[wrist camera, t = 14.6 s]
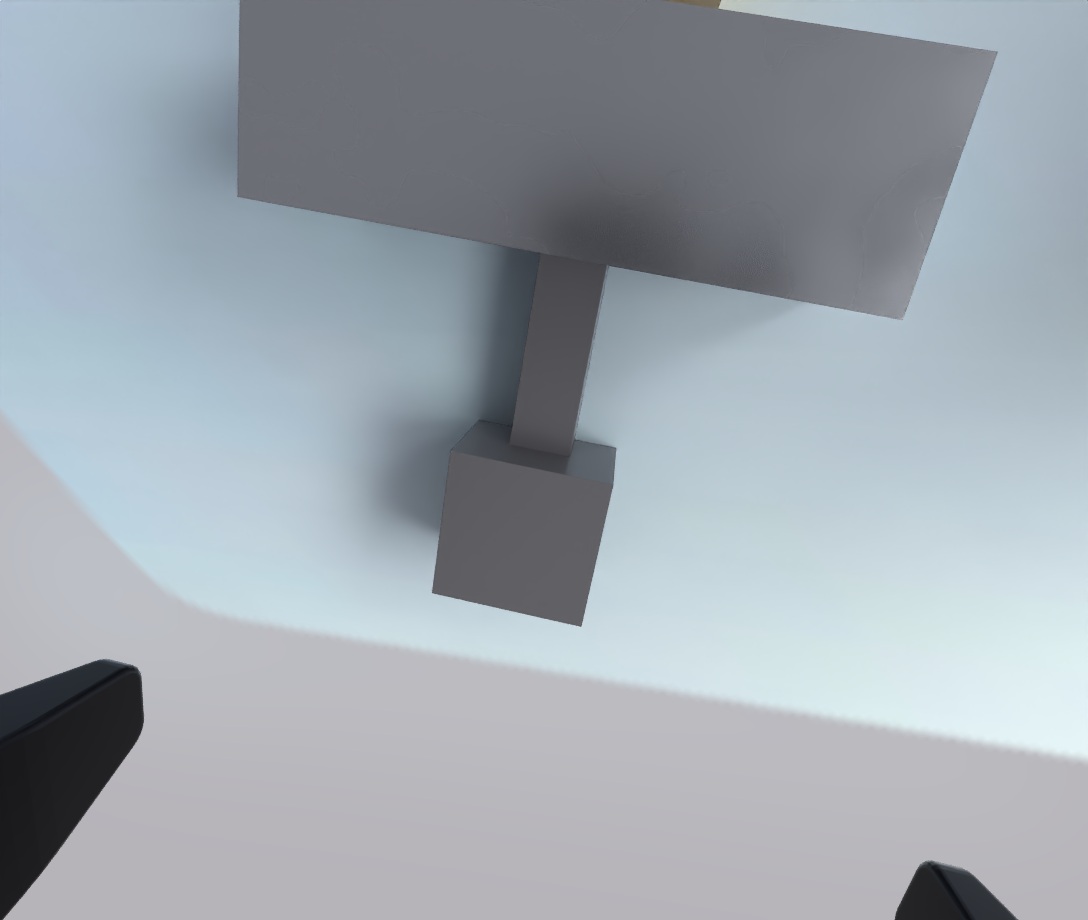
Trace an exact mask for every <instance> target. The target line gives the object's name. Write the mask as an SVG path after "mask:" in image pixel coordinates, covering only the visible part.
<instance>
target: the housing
mask: <svg viewBox="0 0 1088 920" xmlns="http://www.w3.org/2000/svg"><path fill="white" fill-rule="evenodd" d="M996 55H997V52H995V51H988V50H982V49H975V48H969V47H962V46H956V45H949V44H943V43H936V42H930V41H923V40H917V39H910V38H904V37H897V36H891V35H884V34H878V33H872V32H865V31H859V30H852V29H846V28H839V27H833V26H826V25H820V24H813V23H807V22H800V21H794V20H787V19H781V18H774V17H768V16H762V15H755V14H749V13H742V12H736V11H729V10H723V9H716V8H710V7H703V6H697V5H690V4H684V3H677V2H671V1H664V0H240V21H239V110H238V197H241V198H247V199H252V200H258V201H263V202H268V203H274V204H279V205H285V206H290V207H295V208H301V209H306V210H312V211H317V212H322V213H328V214H333V215H339V216H344V217H349V218H355V219H360V220H366V221H371V222H376V223H382V224H387V225H393V226H398V227H403V228H409V229H414V230H420V231H425V232H430V233H436V234H441V235H447V236H452V237H457V238H463V239H468V240H474V241H479V242H484V243H490V244H495V245H501V246H506V247H511V248H517V249H522V250H528V251H533V252H538V253H544V254H549V255H555V256H560V257H565V258H571V259H576V260H582V261H587V262H592V263H598V264H603V265H609V266H614V267H619V268H625V269H630V270H636V271H641V272H646V273H652V274H657V275H662V276H668V277H673V278H679V279H684V280H689V281H695V282H700V283H706V284H711V285H716V286H722V287H727V288H733V289H738V290H743V291H749V292H754V293H760V294H765V295H770V296H776V297H781V298H787V299H792V300H797V301H803V302H808V303H814V304H819V305H824V306H830V307H835V308H841V309H846V310H851V311H857V312H862V313H868V314H873V315H878V316H884V317H889V318H895V319H900V320H903V318H904V315H905V312H906V309H907V306H908V303H909V301H910V298H911V295H912V292H913V289H914V286H915V284H916V281H917V278H918V275H919V272H920V270H921V267H922V264H923V261H924V258H925V255H926V253H927V250H928V247H929V244H930V241H931V239H932V236H933V233H934V230H935V227H936V224H937V222H938V219H939V216H940V213H941V210H942V208H943V205H944V202H945V199H946V196H947V193H948V191H949V188H950V185H951V182H952V179H953V177H954V174H955V171H956V168H957V165H958V162H959V160H960V157H961V154H962V151H963V148H964V146H965V143H966V140H967V137H968V134H969V131H970V129H971V126H972V123H973V120H974V117H975V114H976V112H977V109H978V106H979V103H980V100H981V98H982V95H983V92H984V89H985V86H986V83H987V81H988V78H989V75H990V72H991V69H992V67H993V64H994V61H995V58H996Z"/></svg>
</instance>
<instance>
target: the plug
mask: <svg viewBox="0 0 1088 920" xmlns="http://www.w3.org/2000/svg"><path fill="white" fill-rule="evenodd" d="M664 1H671V2H677V3H684V4H690V5H697V6H703V7H710V8H716V9H718V8H719V5H720V2H721V0H664ZM608 268H609V265H603V264H598V263H592V262H587V261H582V260H576V259H571V258H565V257H560V256H555V255H549V254H544V253H540V259H539V265H538V271H537V277H536V283H535V290H534V296H533V302H532V308H531V314H530V320H529V326H528V333H527V339H526V345H525V351H524V357H523V363H522V370H521V376H520V382H519V388H518V394H517V400H516V406H515V413H514V419H513V425H512V427H510V426H506V425H501V424H496V423H491V422H486V421H481V420H478V421H477V422H476V424H475V425H474V426H473V427H472V428H471V429H470V430H469V431H468V432H467V433H466V435H465V436H464V437H463V438H462V439H461V440H460V441H459V442H458V443H457V444H456V446H455V447H454V448H453V449H452V450H451V452H450V459H449V467H448V475H447V482H446V490H445V498H444V505H443V513H442V521H441V528H440V536H439V544H438V551H437V559H436V567H435V574H434V582H433V590H432V593H434V594H438V595H443V596H447V597H452V598H456V599H461V600H465V601H469V602H474V603H478V604H483V605H487V606H492V607H496V608H501V609H505V610H509V611H514V612H518V613H523V614H527V615H532V616H536V617H540V618H545V619H549V620H554V621H558V622H563V623H567V624H571V625H576V626H580V627H581V626H582V621H583V617H584V613H585V608H586V604H587V599H588V595H589V590H590V586H591V581H592V577H593V572H594V568H595V564H596V559H597V555H598V550H599V546H600V541H601V537H602V532H603V528H604V524H605V519H606V515H607V510H608V506H609V501H610V497H611V492H612V488H613V481H614V469H615V457H616V448H613V447H608V446H603V445H598V444H593V443H588V442H583V441H579V440H575V435H576V430H577V425H578V420H579V415H580V409H581V404H582V399H583V394H584V389H585V384H586V379H587V374H588V369H589V364H590V359H591V354H592V349H593V344H594V339H595V334H596V329H597V324H598V318H599V313H600V308H601V303H602V298H603V293H604V288H605V283H606V278H607V273H608Z"/></svg>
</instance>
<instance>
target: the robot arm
mask: <svg viewBox="0 0 1088 920" xmlns="http://www.w3.org/2000/svg"><path fill="white" fill-rule="evenodd" d="M142 696H143V695H142V680H141V673H140V671H139V670H138V668H137V667H135V666H133V665H130V664H126V663H122V662H118V661H113V660H109V659H103V660H97V661H94V662H91V663H89V664H85V665H83V666H80V667H77V668H74V669H72V670H69V671H66V672H63V673H60V674H57V675H55V676H52V677H49V678H46V679H43V680H41V681H38V682H35V683H32V684H30V685H27V686H24V687H21V688H18V689H15V690H13V691H10V692H7V693H5V694H1V695H0V920H3V919H4V918H5V916H6V915H7V914H8V913H9V912H10V910H11V909H12V908H13V907H14V906H15V905H16V903H17V902H18V901H19V899H21V897H22V896H23V895H24V894H25V893H26V891H27V890H28V889H29V888H30V887H31V885H32V884H33V883H34V882H35V880H36V879H37V878H38V877H39V876H40V874H41V873H42V872H43V870H44V869H45V868H46V867H47V865H48V864H49V863H50V861H51V860H52V859H53V857H54V856H55V855H56V853H57V852H58V851H59V849H60V848H61V847H62V845H63V844H64V842H65V841H66V840H67V838H68V837H69V835H70V834H71V833H72V831H73V830H74V829H75V827H76V826H77V824H78V823H79V821H80V820H81V819H82V817H83V816H84V814H85V813H86V812H87V810H88V809H89V808H90V806H91V805H92V803H93V802H94V801H95V799H96V798H97V796H98V795H99V794H100V792H101V791H102V789H103V788H104V787H105V785H106V784H107V782H108V781H109V780H110V778H111V777H112V776H113V774H114V773H115V771H116V770H117V768H118V767H119V766H120V764H121V763H122V761H123V760H124V759H125V757H126V756H127V755H128V753H129V752H130V750H131V749H132V748H133V746H134V745H135V743H136V742H137V740H138V738H139V736H140V734H141V731H142V728H143V723H144V712H143V697H142ZM895 920H1018V919H1017V918H1016V917H1015V916H1014V915H1013V914H1012V913H1011V912H1010V911H1009V910H1008V909H1007V908H1006V907H1005V906H1004V905H1003V904H1002V903H1001V902H1000V901H999V900H998V899H997V898H996V897H995V896H994V895H993V894H992V893H991V892H990V891H989V890H988V889H987V888H986V887H985V886H984V885H983V884H982V883H981V882H980V881H979V880H978V879H977V878H976V877H975V876H974V875H972V874H971V873H970V872H968V871H967V870H965V869H962V868H959V867H956V866H952V865H947V864H944V863H939V862H935V861H925V862H923V863H922V864H920V866H919V867H918V869H917V870H916V873H915V875H914V877H913V879H912V881H911V883H910V885H909V887H908V889H907V891H906V893H905V895H904V897H903V899H902V901H901V903H900V905H899V907H898V909H897V912H896V916H895Z"/></svg>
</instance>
